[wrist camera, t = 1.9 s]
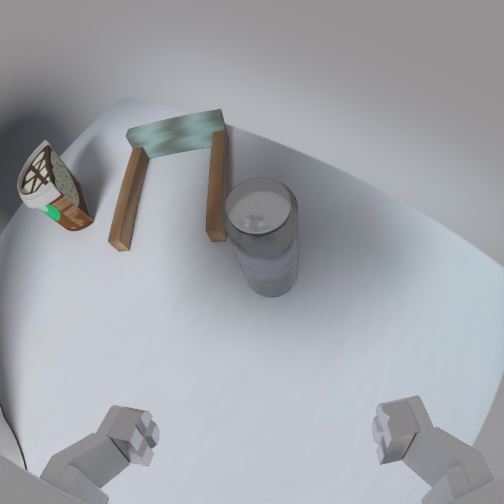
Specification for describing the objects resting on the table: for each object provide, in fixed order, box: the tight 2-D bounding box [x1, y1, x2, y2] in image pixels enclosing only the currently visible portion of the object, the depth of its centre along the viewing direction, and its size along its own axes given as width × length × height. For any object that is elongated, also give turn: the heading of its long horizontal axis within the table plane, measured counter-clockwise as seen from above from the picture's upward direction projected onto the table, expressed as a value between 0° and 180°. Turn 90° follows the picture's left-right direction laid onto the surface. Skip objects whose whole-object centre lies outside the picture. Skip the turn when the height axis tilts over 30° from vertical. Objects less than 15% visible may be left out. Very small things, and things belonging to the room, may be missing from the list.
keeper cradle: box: [108, 109, 229, 251], centre depth 32 cm, size 13×16×5 cm
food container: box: [17, 140, 93, 231], centre depth 31 cm, size 12×6×10 cm, turn 36°
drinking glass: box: [221, 178, 298, 297], centre depth 23 cm, size 5×5×12 cm
